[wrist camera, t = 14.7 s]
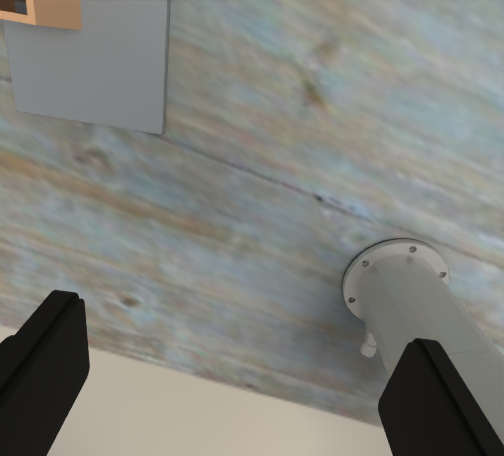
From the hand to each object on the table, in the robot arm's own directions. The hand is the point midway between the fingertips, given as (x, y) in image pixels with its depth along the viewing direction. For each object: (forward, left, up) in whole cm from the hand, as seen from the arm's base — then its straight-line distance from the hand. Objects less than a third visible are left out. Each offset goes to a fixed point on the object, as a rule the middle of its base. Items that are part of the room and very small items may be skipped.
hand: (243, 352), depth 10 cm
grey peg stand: (+7, +16, -28) cm, 33 cm away
